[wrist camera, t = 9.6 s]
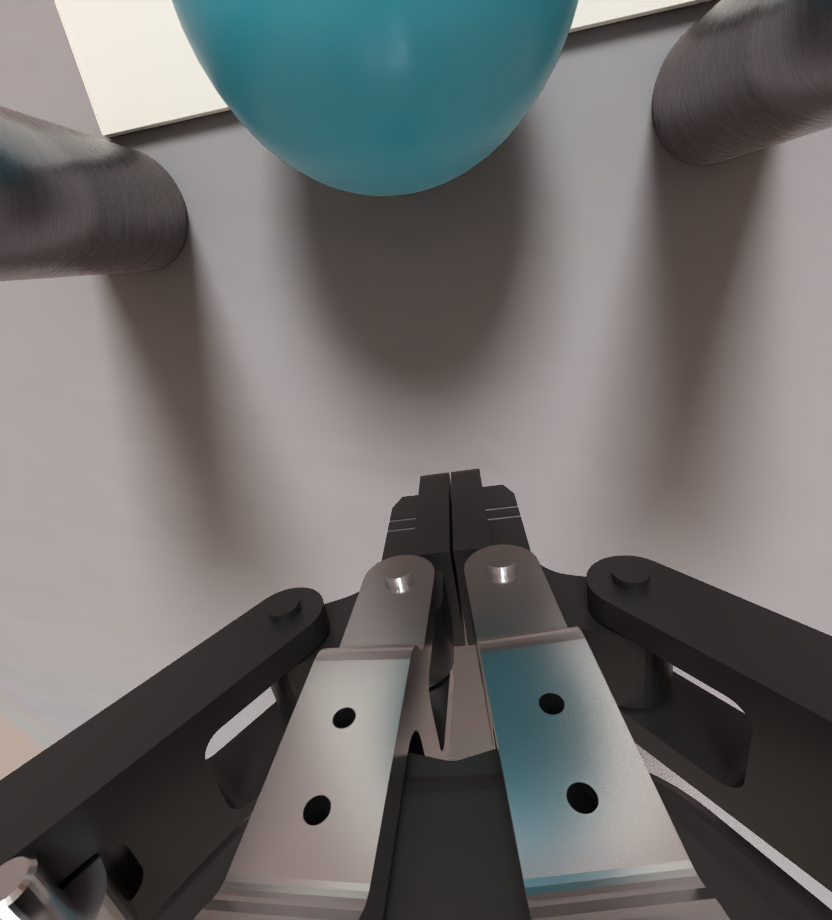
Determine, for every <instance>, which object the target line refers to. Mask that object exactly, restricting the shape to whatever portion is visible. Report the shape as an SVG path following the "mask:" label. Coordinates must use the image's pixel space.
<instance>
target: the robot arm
mask: <svg viewBox="0 0 832 920" xmlns="http://www.w3.org/2000/svg"><path fill="white" fill-rule="evenodd" d="M464 621H465V627H466V634H467V640H468V645H474V644H476V651H477V657H478V664H479V670H480V677H481V683H482V689H483V694H484V700H485V705H486V711H487V717H488V722H489V728H490V734H491V739H492V745H493V750H490V751H487V752H484V753H481V754H478V755H475V756H472V757H469V758H465V759H462V760H458V761H449V750H450V736H451V721H452V706H453V692H454V674H453V668H452V667H453V663H454V646H464V645H465V634H464ZM673 665H674V666H676V667H677V668H679V669H681V670H682V671H684V672H686V673H688V674H689V675H691V676H693V677H694V678H696V679H698V680H700V681H701V682H703V683H705V684H707V685H708V686H710V687H712V688H713V689H715V690H717V691H719V692H720V693H722V694H724V695H725V696H727V697H728V698H730V699H731V700H733V701H734V702H735V703H736V704H737V705H738V706H739V707H740V708H741V709H742V710H743V711H744V712H745V714H744V713H743V712H741V711H739V710H738V709H736V708H734V707H732V706H731V705H729V704H727V703H726V702H724V701H722V700H721V699H719V698H717V697H716V696H714V695H712V694H711V693H709V692H707V691H705V690H704V689H702V688H700V687H699V686H697V685H695V684H694V683H692V682H690V681H689V680H687V679H685V678H684V677H682V676H680V675H678V674H677V673H675V672H673ZM270 686H271V688H272V691H273V693H274V696H275V699H276V702H275V703H274V704H273V705H272V706H270V707H269V708H268V709H267V710H266V711H265V712H263V713H262V714H261V715H260V716H259V717H258V718H256V719H255V720H254V721H253V722H252V723H251V724H250V725H248V726H247V727H246V728H245V729H244V730H243V731H241V732H240V733H239V734H238V735H237V736H236V737H234V738H233V739H232V740H231V741H230V742H229V743H227V744H226V745H225V746H224V747H223V748H222V749H220V750H219V751H218V752H217V753H216V754H215V755H213V756H212V757H210V758H209V759H206V760H205V751H206V748H207V745H208V743H209V741H210V739H211V738H212V737H213V735H214V734H215V733H216V732H217V731H218V730H219V729H220V728H221V727H222V726H223V725H224V724H226V723H227V722H228V721H229V720H231V719H232V718H233V717H234V716H235V715H237V714H238V713H239V712H240V711H241V710H243V709H244V708H245V707H246V706H247V705H249V704H250V703H251V702H252V701H253V700H255V699H256V698H257V697H258V696H259V695H261V694H262V693H263V692H264V691H266V690H267V689H268V688H269V687H270ZM634 742H635V743H636V744H638V745H639V746H640V747H642V748H643V749H644V750H646V751H647V752H648V753H649V754H651V755H652V756H653V757H655V758H656V759H657V760H659V761H660V762H661V763H663V764H664V765H665V766H667V767H668V768H669V769H671V770H672V771H673V772H674V773H676V774H677V775H678V776H680V777H681V778H682V779H684V780H685V781H686V782H688V783H689V784H690V785H692V786H693V787H694V788H696V789H697V790H698V791H699V792H701V793H702V794H703V795H705V796H706V797H707V798H709V799H710V800H711V801H713V802H714V803H715V804H717V805H718V806H719V807H721V808H722V809H723V810H724V811H726V812H727V813H728V814H730V815H731V816H732V817H734V818H735V819H736V820H738V821H739V822H740V823H742V824H743V825H744V826H746V827H747V828H748V829H749V830H751V831H752V832H753V833H755V834H756V835H757V836H759V837H760V838H761V839H763V840H764V841H765V842H767V843H768V844H769V845H771V846H772V847H773V848H774V849H776V850H777V851H778V852H780V853H781V854H782V855H784V856H785V857H786V858H788V859H789V860H790V861H792V862H793V863H794V864H796V865H797V866H798V867H799V868H801V869H802V870H803V871H805V872H806V873H807V874H809V875H810V876H811V877H813V878H814V879H815V880H817V881H818V882H819V883H821V884H822V885H823V886H824V887H826V888H827V889H828V890H830V891H831V892H832V636H830V635H827V634H825V633H823V632H820V631H818V630H816V629H813V628H811V627H808V626H806V625H804V624H801V623H799V622H797V621H794V620H792V619H789V618H787V617H785V616H782V615H780V614H778V613H775V612H773V611H771V610H768V609H766V608H763V607H761V606H759V605H756V604H754V603H752V602H749V601H747V600H744V599H742V598H740V597H737V596H735V595H733V594H730V593H728V592H725V591H723V590H721V589H718V588H716V587H714V586H711V585H709V584H706V583H704V582H702V581H699V580H697V579H695V578H692V577H690V576H687V575H685V574H683V573H680V572H678V571H676V570H673V569H671V568H669V567H666V566H664V565H661V564H659V563H657V562H654V561H652V560H649V559H645V558H641V557H636V556H613V557H608V558H604V559H602V560H599V561H598V562H596V563H594V564H593V565H592V566H591V567H590V569H589V570H588V572H587V577H583V576H574V575H566V574H561V573H557V572H554V571H551V570H549V569H547V568H545V567H543V566H542V565H540V563H539V561H538V559H537V557H536V556H535V555H534V554H533V553H532V552H531V551H530V547H529V544H528V540H527V537H526V533H525V530H524V526H523V523H522V519H521V517H520V512H519V509H518V506H517V502H516V498H515V495H514V493H513V492H511V491H510V490H509V489H508V488H506V487H505V486H504V485H496V486H488V487H482V483H481V477H480V470H479V469H472V470H464V471H456V472H451V481H450V475H449V473H441V474H433V475H426V476H421V477H420V486H419V495H415V496H407V497H402V498H401V499H400V500H399V502H398V503H397V504H396V505H395V506H394V507H393V508H392V513H391V518H390V522H389V527H388V532H387V537H386V542H385V547H384V552H383V557H382V561H381V562H379V563H377V564H376V565H375V566H373V567H372V568H371V569H370V570H369V571H368V572H367V574H366V575H365V577H364V580H363V583H362V586H361V588H360V591H359V592H358V593H355V594H353V595H351V596H348V597H346V598H343V599H340V600H337V601H333V602H330V603H327V604H324V602H323V599H322V597H321V595H320V594H319V593H318V592H317V591H315V590H313V589H310V588H292V589H287V590H284V591H281V592H278V593H276V594H274V595H272V596H270V597H268V598H267V599H265V600H264V601H262V602H261V603H259V604H258V605H256V606H255V607H253V608H252V609H250V610H249V611H248V612H246V613H245V614H243V615H242V616H240V617H239V618H237V619H236V620H234V621H233V622H231V623H230V624H228V625H227V626H226V627H224V628H223V629H221V630H220V631H218V632H217V633H215V634H214V635H212V636H211V637H209V638H208V639H207V640H205V641H204V642H202V643H201V644H199V645H198V646H196V647H195V648H193V649H192V650H190V651H189V652H188V653H186V654H185V655H183V656H182V657H180V658H179V659H177V660H176V661H174V662H173V663H171V664H170V665H169V666H167V667H166V668H164V669H163V670H161V671H160V672H158V673H157V674H155V675H154V676H152V677H151V678H149V679H148V680H147V681H145V682H144V683H142V684H141V685H139V686H138V687H136V688H135V689H133V690H132V691H130V692H129V693H128V694H126V695H125V696H123V697H122V698H120V699H119V700H117V701H116V702H114V703H113V704H111V705H110V706H109V707H107V708H106V709H104V710H103V711H101V712H100V713H98V714H97V715H95V716H94V717H92V718H91V719H89V720H88V721H87V722H85V723H84V724H82V725H81V726H79V727H78V728H76V729H75V730H73V731H72V732H70V733H69V734H68V735H66V736H65V737H63V738H62V739H60V740H59V741H57V742H56V743H54V744H53V745H51V746H50V747H49V748H47V749H46V750H44V751H43V752H41V753H40V754H38V755H37V756H35V757H34V758H32V759H31V760H30V761H28V762H27V763H25V764H24V765H22V766H21V767H19V768H18V769H16V770H15V771H13V772H12V773H10V774H9V775H8V776H6V777H5V778H3V779H2V780H0V920H832V910H831V909H830V908H828V907H827V906H826V905H825V904H824V903H822V902H821V901H820V900H819V899H817V898H816V897H815V896H814V895H813V894H811V893H810V892H809V891H808V890H806V889H805V888H804V887H803V886H802V885H800V884H799V883H798V882H797V881H795V880H794V879H793V878H792V877H791V876H789V875H788V874H787V873H786V872H784V871H783V870H782V869H781V868H780V867H778V866H777V865H776V864H775V863H773V862H772V861H771V860H770V859H769V858H767V857H766V856H765V855H764V854H762V853H761V852H760V851H759V850H758V849H756V848H755V847H754V846H753V845H751V844H750V843H749V842H748V841H747V840H745V839H744V838H743V837H742V836H740V835H739V834H738V833H737V832H736V831H734V830H733V829H732V828H731V827H729V826H728V825H727V824H726V823H725V822H723V821H722V820H721V819H720V818H718V817H717V816H716V815H715V814H714V813H712V812H711V811H710V810H709V809H707V808H706V807H705V806H703V805H702V804H701V803H700V802H698V801H697V800H695V799H694V798H692V797H691V796H689V795H688V794H686V793H685V792H683V791H682V790H680V789H679V788H677V787H676V786H674V785H672V784H670V783H668V782H667V781H665V780H663V779H661V778H659V777H657V776H655V775H653V774H650V773H649V772H648V770H647V768H646V766H645V764H644V762H643V760H642V757H641V755H640V753H639V751H638V749H637V747H636V745H635V743H634Z"/></svg>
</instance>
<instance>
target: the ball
mask: <svg viewBox="0 0 832 920" xmlns="http://www.w3.org/2000/svg"><path fill="white" fill-rule="evenodd" d="M578 1H579V0H172V3H173V5H174V8H175V11H176V13H177V16H178V19H179V21H180V24H181V27H182V29H183V31H184V33H185V35H186V37H187V39H188V41H189V43H190V45H191V47H192V49H193V51H194V53H195V55H196V58H197V60H198V62H199V63H200V65H201V66H202V68H203V70H204V71H205V73H206V75H207V76H208V78H209V79H210V81H211V83H212V84H213V86H214V88H215V89H216V91H217V92H218V94H219V95H220V96H221V98H222V99H223V100H224V102H225V103H226V104H227V106H228V107H229V108H230V110H231V111H232V112H233V113H234V115H235V116H236V117H237V119H238V120H239V121H240V122H241V123H242V124H243V125H244V126H245V127H246V128H247V129H248V130H249V131H250V132H251V134H252V135H253V136H254V137H255V138H256V139H257V140H258V141H259V142H260V143H261V144H262V145H263V146H265V147H266V148H267V149H268V150H270V151H271V152H272V153H273V154H275V155H276V156H277V157H278V158H280V159H281V160H282V161H284V162H285V163H286V164H288V165H289V166H291V167H292V168H294V169H296V170H297V171H299V172H301V173H303V174H304V175H306V176H308V177H310V178H312V179H314V180H316V181H318V182H320V183H322V184H325V185H327V186H330V187H333V188H336V189H339V190H343V191H347V192H351V193H356V194H361V195H369V196H396V195H404V194H413V193H417V192H421V191H424V190H427V189H430V188H433V187H436V186H439V185H442V184H444V183H446V182H448V181H450V180H452V179H454V178H456V177H458V176H460V175H462V174H464V173H465V172H467V171H468V170H470V169H471V168H473V167H474V166H475V165H477V164H478V163H479V162H481V161H482V160H484V159H485V158H486V157H488V156H489V155H490V154H491V153H492V152H493V151H494V150H495V149H496V148H497V147H498V146H499V145H500V144H501V143H502V142H504V141H505V140H506V138H507V137H508V136H509V135H510V134H511V132H512V131H513V130H514V129H515V128H516V126H517V125H518V124H519V123H520V122H521V120H522V119H523V118H524V117H525V115H526V114H527V113H528V111H529V110H530V108H531V107H532V105H533V104H534V102H535V101H536V99H537V97H538V96H539V94H540V93H541V91H542V90H543V88H544V86H545V84H546V82H547V80H548V78H549V76H550V75H551V73H552V71H553V69H554V67H555V65H556V63H557V61H558V59H559V56H560V54H561V51H562V49H563V46H564V44H565V41H566V39H567V36H568V33H569V31H570V28H571V26H572V22H573V19H574V15H575V12H576V8H577V5H578Z"/></svg>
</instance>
